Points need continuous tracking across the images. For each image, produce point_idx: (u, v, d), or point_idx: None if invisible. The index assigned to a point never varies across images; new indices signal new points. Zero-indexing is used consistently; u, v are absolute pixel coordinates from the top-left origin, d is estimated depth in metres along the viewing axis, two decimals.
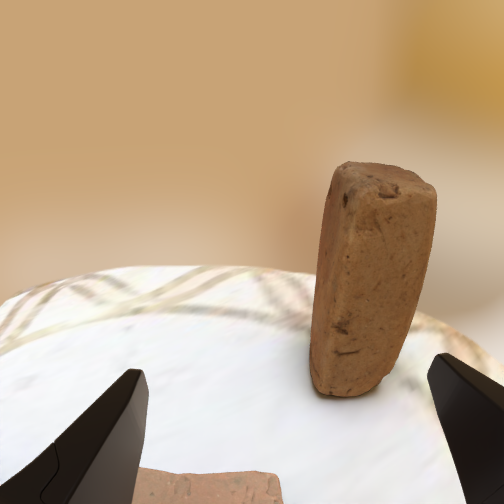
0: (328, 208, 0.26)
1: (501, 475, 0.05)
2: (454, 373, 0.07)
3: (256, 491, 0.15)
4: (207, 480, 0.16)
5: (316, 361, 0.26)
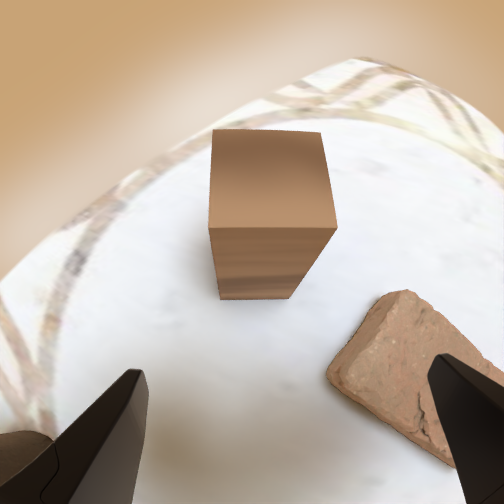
0: None
1: (502, 476, 0.05)
2: (454, 373, 0.07)
3: None
4: (497, 375, 0.18)
5: None
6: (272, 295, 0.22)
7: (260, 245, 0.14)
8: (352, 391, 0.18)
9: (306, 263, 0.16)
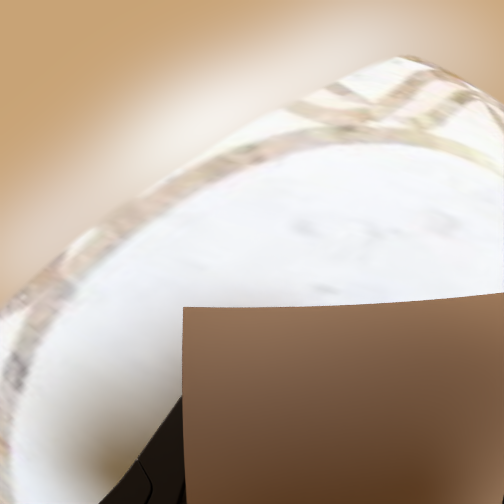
0: None
1: None
2: None
3: None
4: None
5: None
6: None
7: None
8: None
9: None
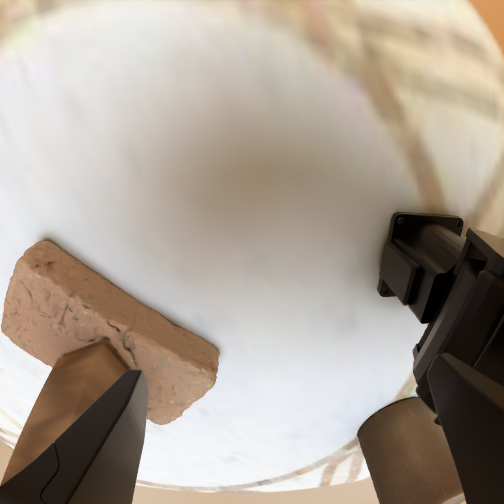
0: None
1: (502, 476, 0.05)
2: (454, 373, 0.07)
3: (15, 331, 0.18)
4: (43, 358, 0.19)
5: None
6: (111, 368, 0.18)
7: None
8: (205, 370, 0.21)
9: None
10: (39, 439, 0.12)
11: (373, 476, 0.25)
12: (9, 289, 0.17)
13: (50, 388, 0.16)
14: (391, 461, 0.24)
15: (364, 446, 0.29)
